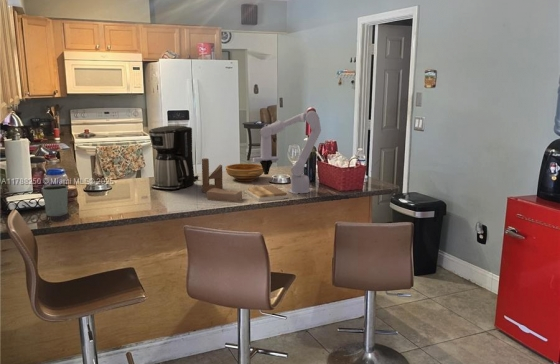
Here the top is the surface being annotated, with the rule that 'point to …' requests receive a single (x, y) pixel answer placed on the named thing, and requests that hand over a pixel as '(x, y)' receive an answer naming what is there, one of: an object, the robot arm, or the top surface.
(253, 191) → the plank
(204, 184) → the brown wooden bracket
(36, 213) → the top surface
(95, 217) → the top surface
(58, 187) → the gray cup
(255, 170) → the wooden bowl
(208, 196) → the brick
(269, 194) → the plank
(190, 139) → the coffee maker
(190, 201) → the top surface
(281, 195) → the floor board
